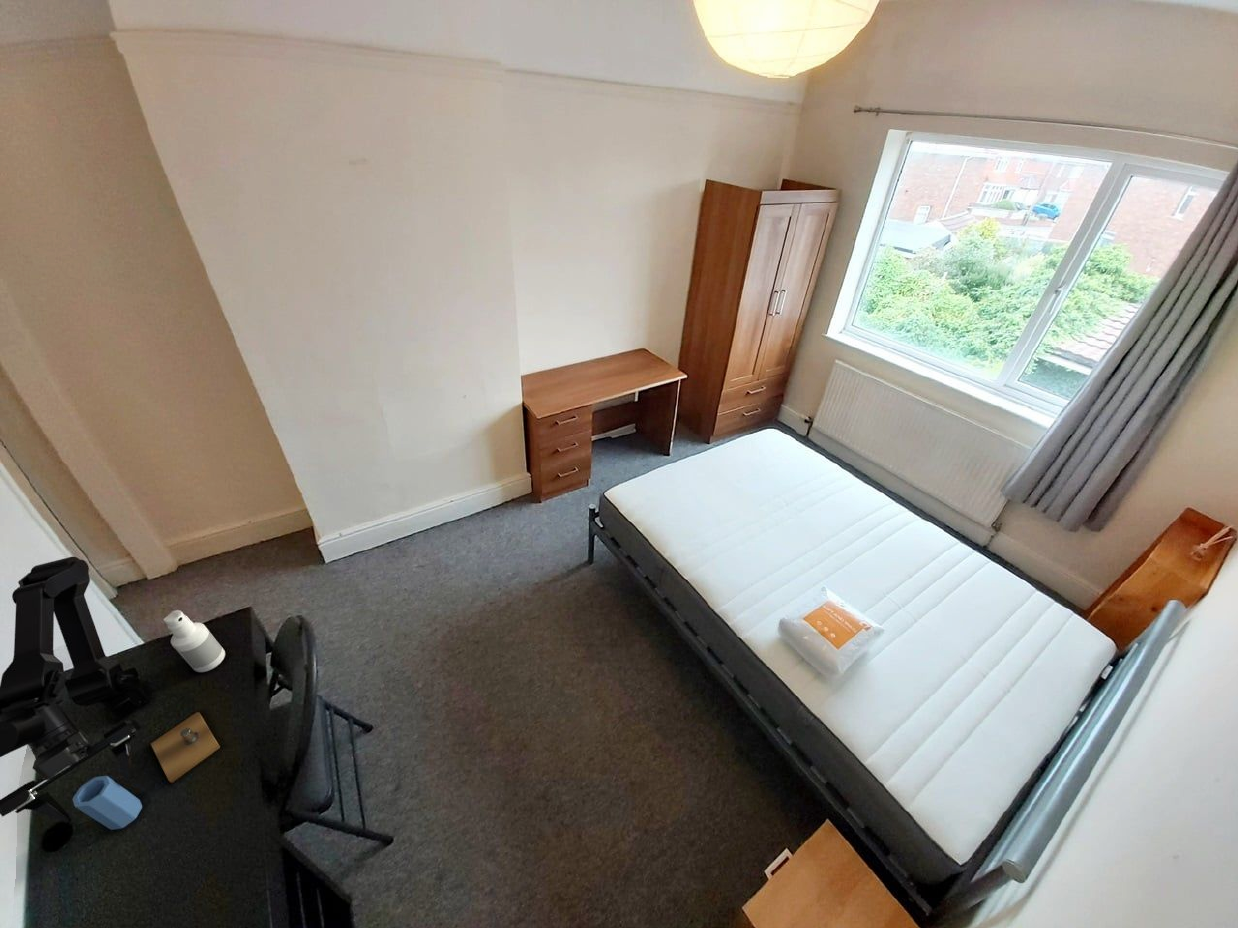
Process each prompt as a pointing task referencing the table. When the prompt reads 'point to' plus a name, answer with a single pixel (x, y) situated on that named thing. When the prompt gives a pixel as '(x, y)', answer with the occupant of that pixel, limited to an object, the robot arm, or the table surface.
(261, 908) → the table surface
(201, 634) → the spray bottle
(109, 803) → the sleeve
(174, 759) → the base
